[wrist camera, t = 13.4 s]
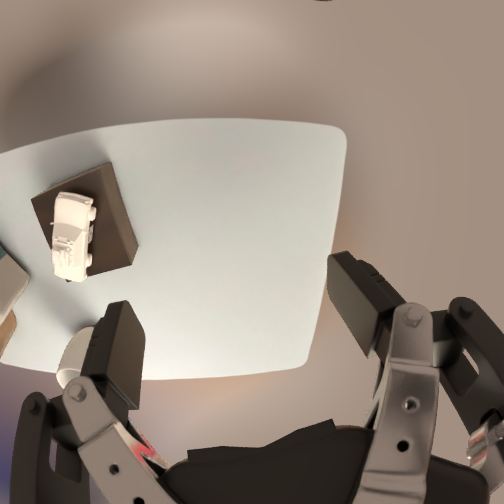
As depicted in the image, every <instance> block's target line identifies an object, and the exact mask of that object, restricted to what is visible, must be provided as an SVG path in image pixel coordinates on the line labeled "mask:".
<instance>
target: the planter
mask: <svg viewBox="0 0 504 504" xmlns="http://www.w3.org/2000/svg"><path fill="white" fill-rule="evenodd" d="M16 326H17V322H16V318H15V316H14V314H13V312H12V310H10V312H9V313H8V315H7V316H6V318H5V320H4V321H3V323H2V324H1V326H0V358H1V356H2V354H3V352H4V350H5V348H6V346H7V344H8V342H9V340H10V338H11V336H12V334H13V332H14V331H15V328H16Z"/></svg>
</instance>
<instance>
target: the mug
mask: <svg viewBox="0 0 504 504" xmlns="http://www.w3.org/2000/svg"><path fill="white" fill-rule="evenodd" d="M93 329H94V327H86V328H83V329H81V330H80V331H79V332H77V333H76V334H75V335H74V336H73V338H72V339H71V340H70V341H69V343H68V345H67V346H66V349H65V350H64V353H63V355H62V358H61V361H60V364H59V367H58V370H57V373H56V377H57V381H58V382H59V384H60V386H62V388H63V389H64V388H65V386H66V385H67V383H68V382H69V381H71V380H72V379H74V378H76V377H79V376H80V372H81V369H82V365H83V361H84V358H85V355H86V351H87V348H88V347H89V346H88V345H89V341H90V339H91V335H92V332H93Z"/></svg>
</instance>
